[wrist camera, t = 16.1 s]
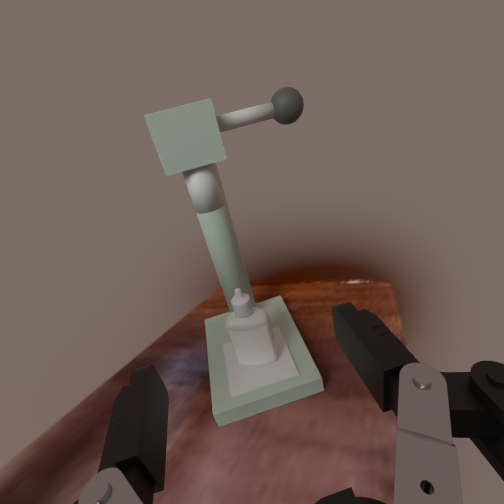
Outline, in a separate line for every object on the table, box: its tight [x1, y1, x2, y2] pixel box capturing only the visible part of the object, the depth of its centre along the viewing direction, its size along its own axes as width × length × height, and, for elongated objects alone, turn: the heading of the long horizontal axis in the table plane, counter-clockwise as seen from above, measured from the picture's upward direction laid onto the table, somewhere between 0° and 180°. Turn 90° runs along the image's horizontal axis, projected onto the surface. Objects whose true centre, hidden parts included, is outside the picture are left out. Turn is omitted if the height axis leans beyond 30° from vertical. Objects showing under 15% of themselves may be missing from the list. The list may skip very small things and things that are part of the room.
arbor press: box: [144, 87, 324, 427], centre depth 36 cm, size 18×20×35 cm
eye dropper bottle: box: [225, 288, 278, 368], centre depth 38 cm, size 4×6×12 cm
